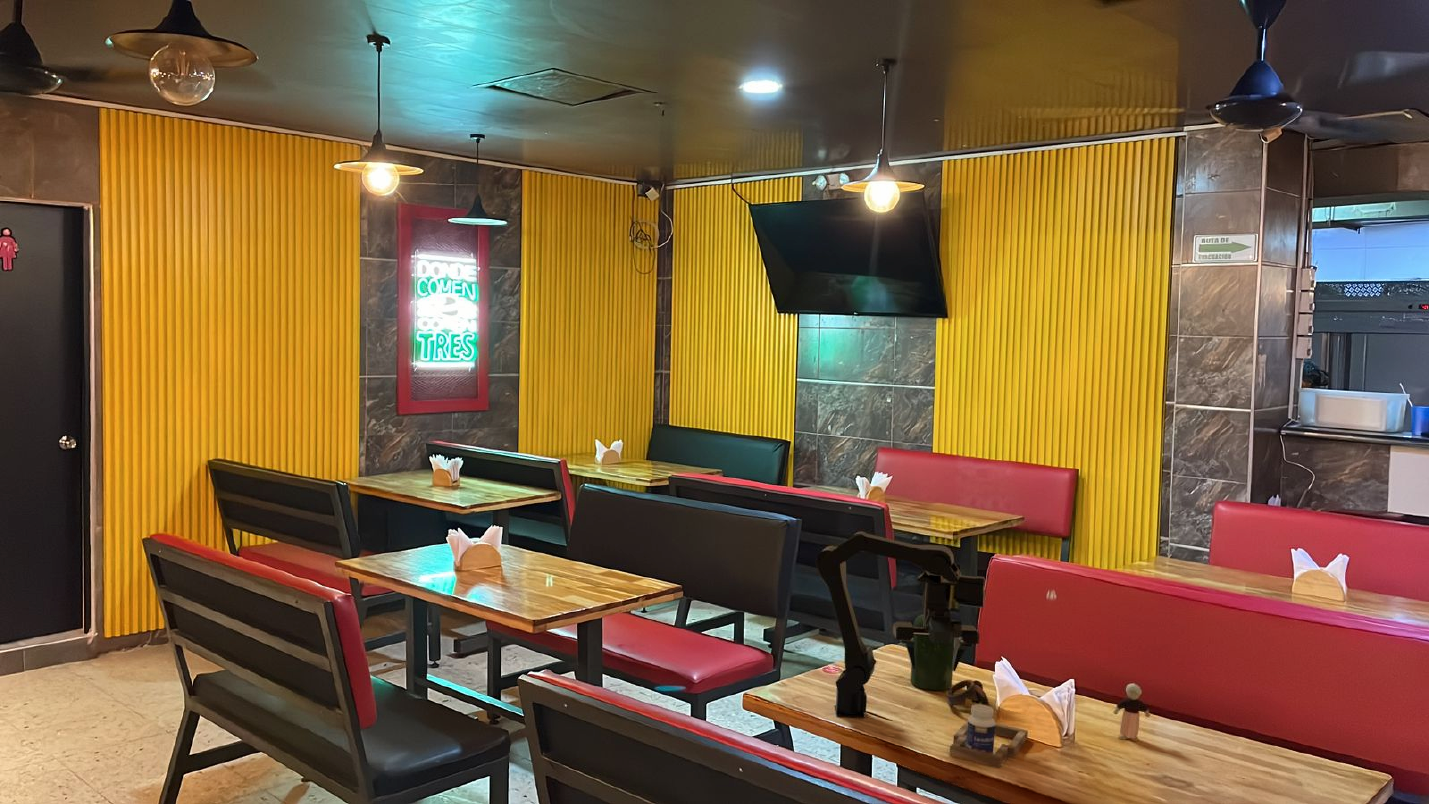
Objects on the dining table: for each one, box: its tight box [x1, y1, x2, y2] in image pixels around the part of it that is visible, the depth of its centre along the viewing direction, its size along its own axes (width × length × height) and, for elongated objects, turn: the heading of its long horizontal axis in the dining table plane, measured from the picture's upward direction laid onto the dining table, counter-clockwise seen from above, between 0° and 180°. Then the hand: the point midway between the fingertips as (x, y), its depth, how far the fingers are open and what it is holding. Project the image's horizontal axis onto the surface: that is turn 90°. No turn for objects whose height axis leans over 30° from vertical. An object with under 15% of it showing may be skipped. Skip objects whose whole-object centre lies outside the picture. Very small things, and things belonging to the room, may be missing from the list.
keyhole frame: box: [949, 720, 1028, 769], centre depth 232 cm, size 20×13×2 cm, turn 151°
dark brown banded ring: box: [945, 679, 990, 708], centre depth 255 cm, size 12×10×8 cm
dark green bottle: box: [910, 588, 955, 691], centre depth 271 cm, size 10×10×25 cm
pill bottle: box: [965, 703, 996, 754], centre depth 227 cm, size 6×6×10 cm
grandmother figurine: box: [1112, 683, 1151, 742], centre depth 240 cm, size 8×4×13 cm, turn 88°
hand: (933, 669), depth 242 cm, fingers open, 9 cm apart
